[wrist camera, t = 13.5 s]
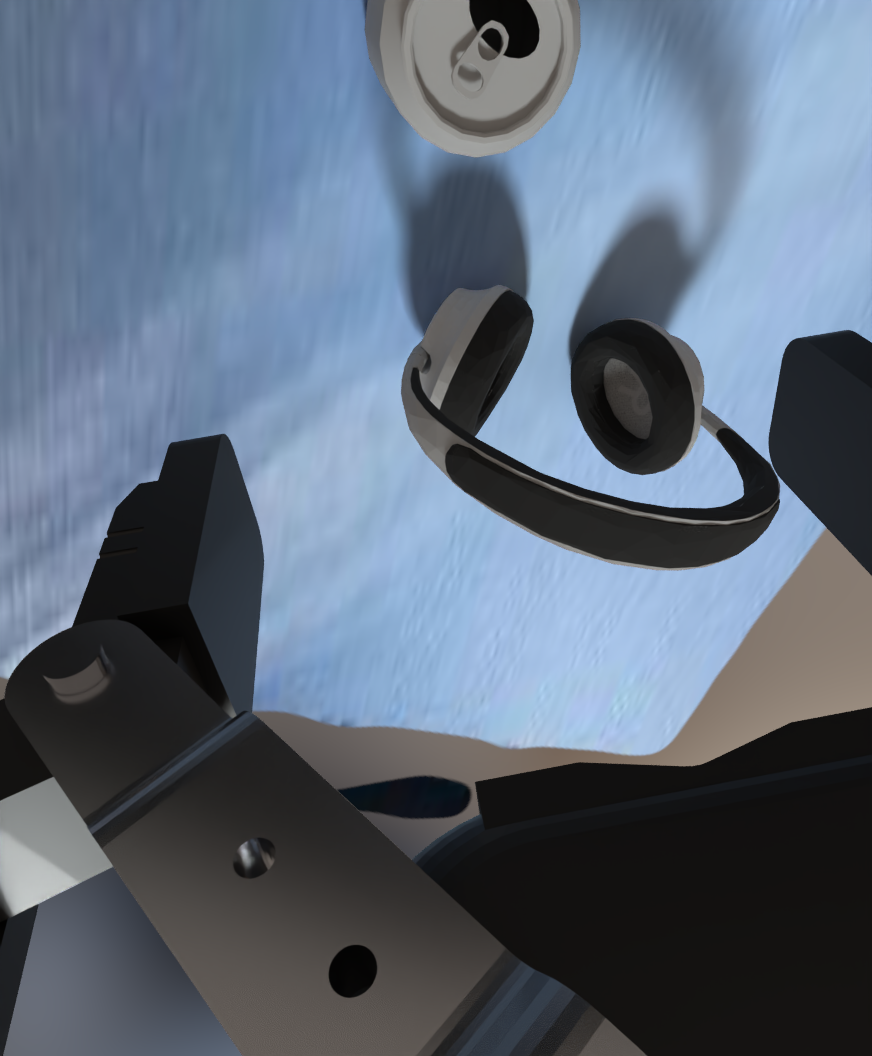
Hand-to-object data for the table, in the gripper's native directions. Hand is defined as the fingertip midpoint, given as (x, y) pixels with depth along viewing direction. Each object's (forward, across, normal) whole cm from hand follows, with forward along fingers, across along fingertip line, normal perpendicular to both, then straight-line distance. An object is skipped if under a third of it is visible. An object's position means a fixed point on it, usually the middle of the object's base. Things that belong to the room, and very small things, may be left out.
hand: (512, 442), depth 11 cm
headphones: (+33, -8, +14) cm, 37 cm away
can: (+33, -4, -3) cm, 34 cm away
